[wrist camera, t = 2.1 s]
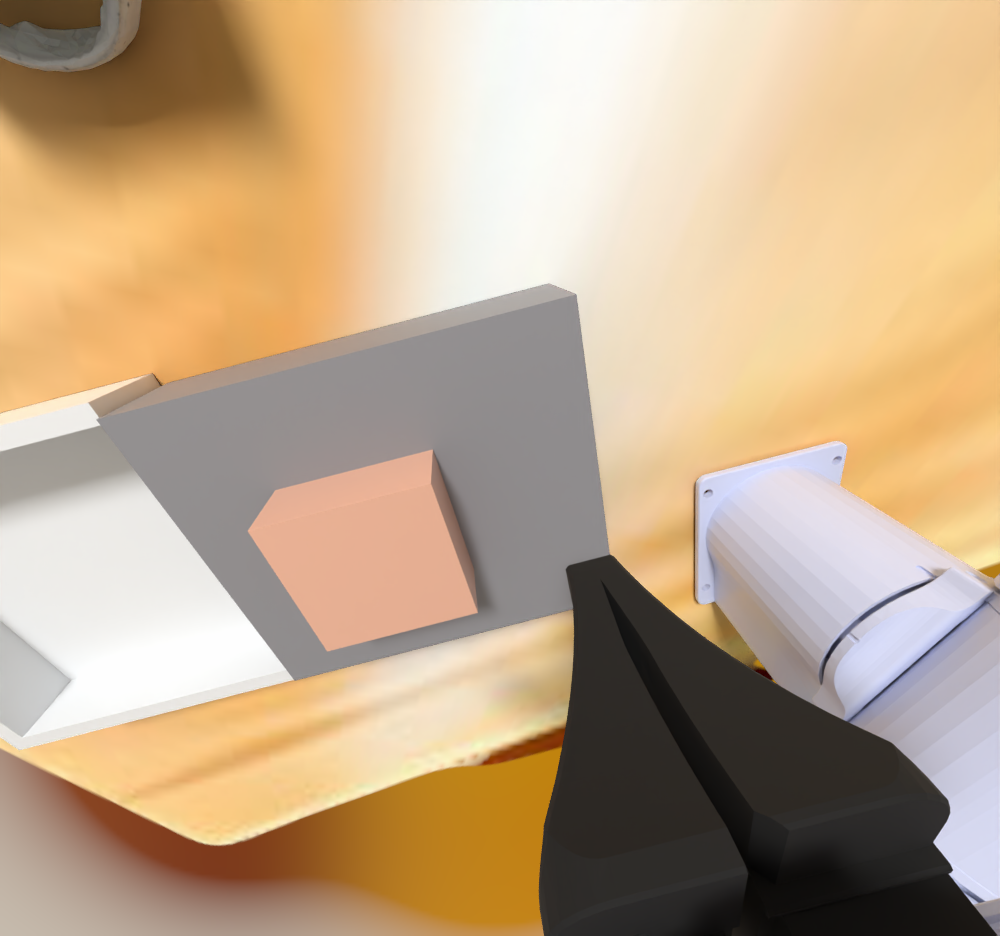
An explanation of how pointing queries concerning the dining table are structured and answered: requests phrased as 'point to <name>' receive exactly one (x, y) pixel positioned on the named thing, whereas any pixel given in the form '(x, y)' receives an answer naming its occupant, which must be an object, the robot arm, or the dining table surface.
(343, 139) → the dining table surface
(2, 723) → the bin
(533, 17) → the dining table surface
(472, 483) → the board
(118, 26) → the ceramic mug
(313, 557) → the terracotta tile
